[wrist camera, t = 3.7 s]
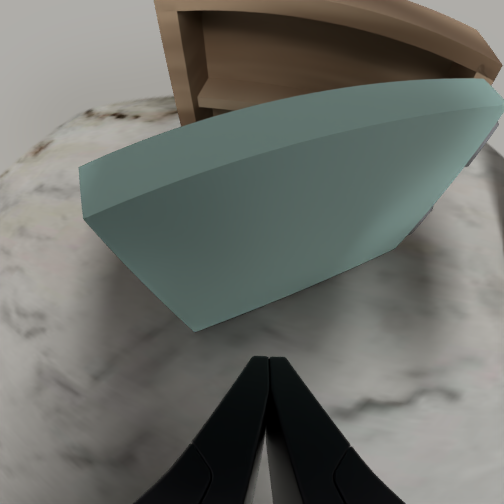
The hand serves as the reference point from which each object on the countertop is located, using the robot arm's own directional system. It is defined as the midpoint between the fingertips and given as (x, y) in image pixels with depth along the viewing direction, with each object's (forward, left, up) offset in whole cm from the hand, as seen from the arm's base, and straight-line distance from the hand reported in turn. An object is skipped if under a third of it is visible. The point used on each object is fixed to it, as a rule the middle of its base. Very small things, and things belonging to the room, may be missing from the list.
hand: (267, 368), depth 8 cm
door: (+5, 0, -6) cm, 8 cm away
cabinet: (+11, +2, -7) cm, 13 cm away
